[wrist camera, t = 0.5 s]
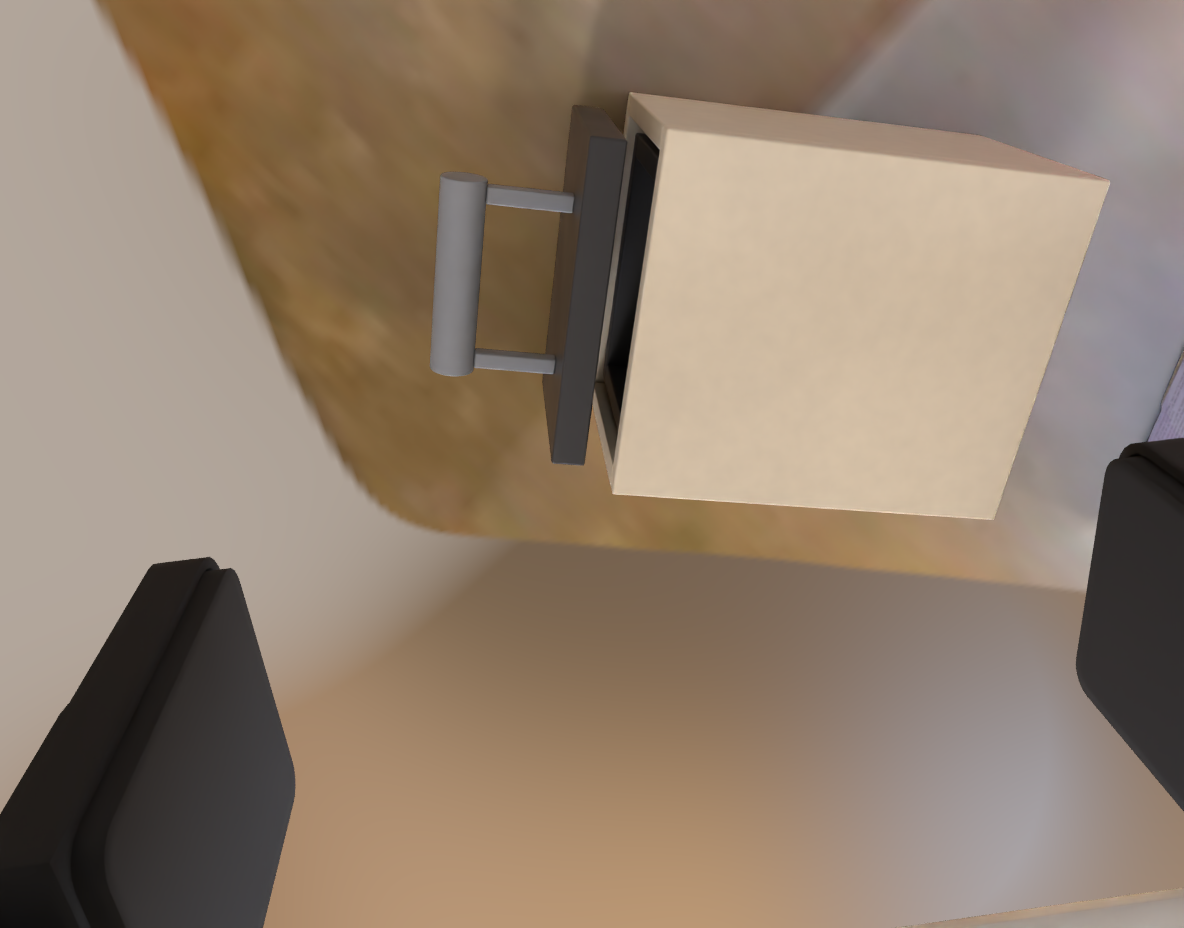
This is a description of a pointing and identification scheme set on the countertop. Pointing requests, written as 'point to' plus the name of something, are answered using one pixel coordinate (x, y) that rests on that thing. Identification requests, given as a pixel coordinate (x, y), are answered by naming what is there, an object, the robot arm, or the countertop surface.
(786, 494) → the cream drawer cabinet
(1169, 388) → the cake pan box
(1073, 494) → the countertop surface
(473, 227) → the black drawer
